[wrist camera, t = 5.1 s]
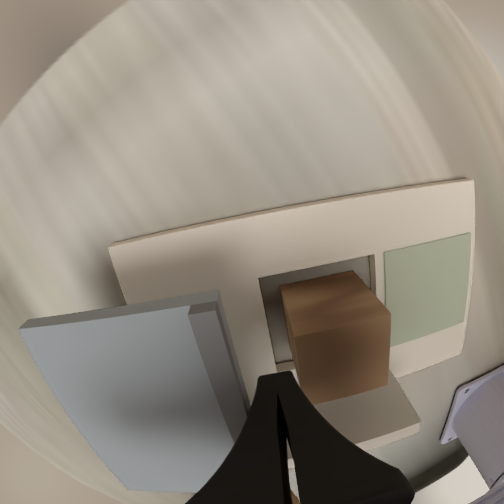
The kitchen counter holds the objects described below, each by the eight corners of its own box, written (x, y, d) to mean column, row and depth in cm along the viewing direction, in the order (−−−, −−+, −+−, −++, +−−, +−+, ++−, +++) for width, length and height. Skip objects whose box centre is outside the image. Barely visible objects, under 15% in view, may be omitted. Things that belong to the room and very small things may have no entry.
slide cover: (218, 289, 10) (215, 310, 8) (272, 474, 13) (274, 495, 12) (28, 319, 10) (10, 336, 9) (130, 479, 13) (125, 497, 12)
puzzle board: (465, 178, 15) (534, 194, 9) (455, 347, 18) (497, 394, 13) (113, 243, 15) (59, 286, 10) (179, 411, 19) (166, 478, 13)
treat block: (352, 269, 16) (391, 313, 12) (355, 331, 18) (387, 385, 13) (279, 285, 16) (294, 337, 12) (289, 346, 18) (304, 406, 13)
